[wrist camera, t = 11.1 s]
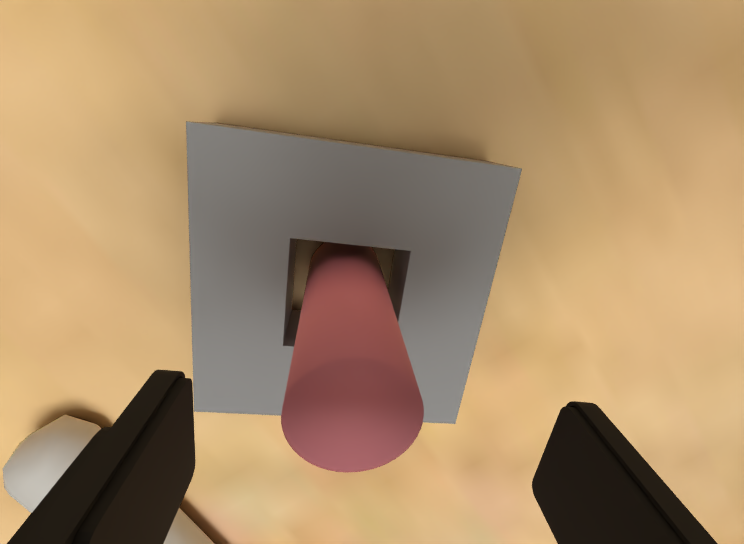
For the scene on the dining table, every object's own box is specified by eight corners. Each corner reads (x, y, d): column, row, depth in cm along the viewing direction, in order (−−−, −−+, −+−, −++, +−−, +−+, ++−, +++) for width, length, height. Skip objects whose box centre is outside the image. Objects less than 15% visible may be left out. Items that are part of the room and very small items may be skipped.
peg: (384, 240, 21) (436, 362, 10) (374, 304, 23) (410, 474, 12) (312, 232, 21) (285, 352, 10) (307, 299, 22) (277, 470, 11)
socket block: (488, 161, 20) (521, 168, 17) (437, 379, 25) (455, 423, 21) (216, 123, 19) (186, 121, 15) (216, 366, 23) (194, 411, 20)
